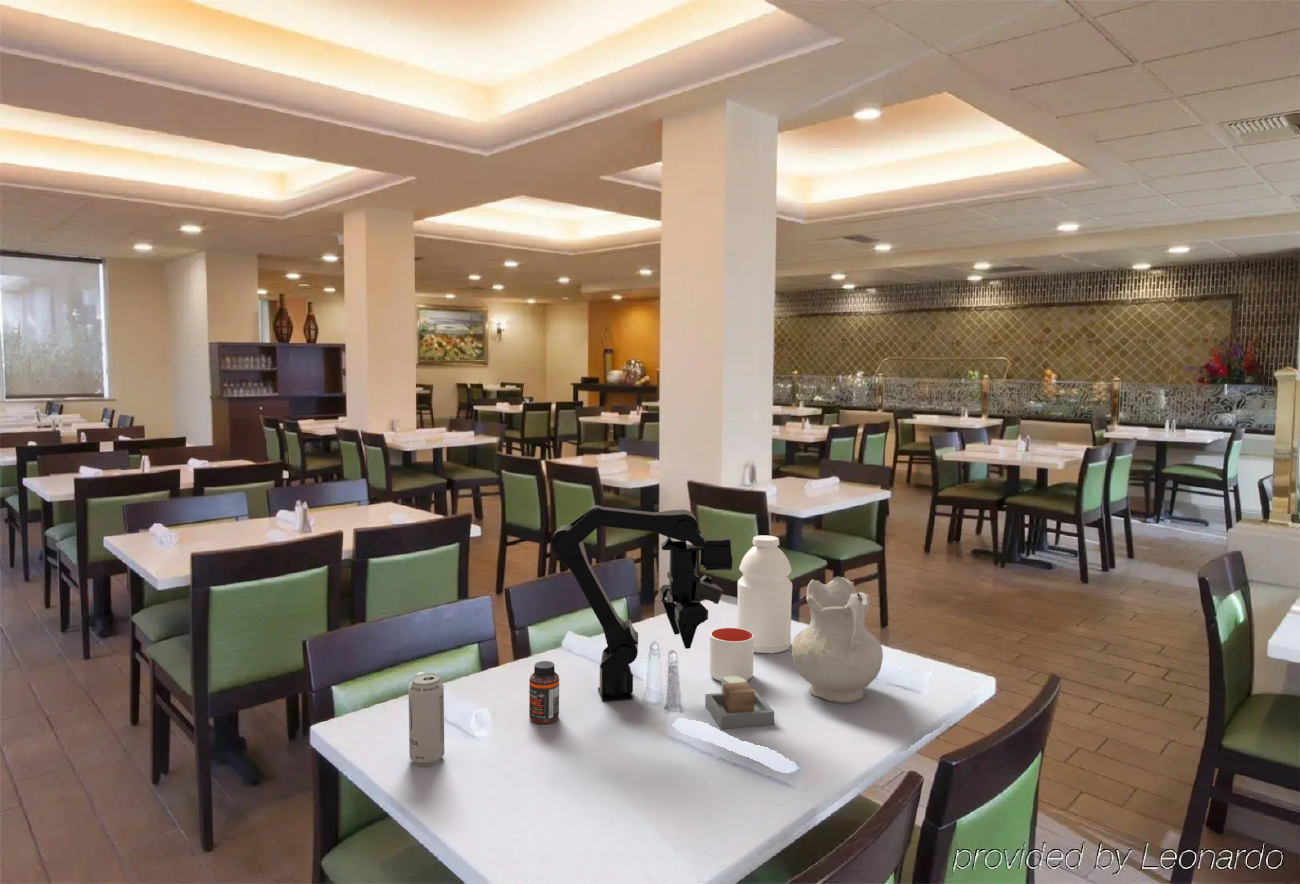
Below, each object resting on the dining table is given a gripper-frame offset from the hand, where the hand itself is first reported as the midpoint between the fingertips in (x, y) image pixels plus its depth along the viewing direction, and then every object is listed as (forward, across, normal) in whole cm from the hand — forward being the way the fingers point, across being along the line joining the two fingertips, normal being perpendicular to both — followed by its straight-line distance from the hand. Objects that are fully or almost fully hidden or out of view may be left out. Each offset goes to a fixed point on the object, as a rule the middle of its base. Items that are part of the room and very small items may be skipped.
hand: (682, 641), depth 172 cm
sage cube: (+12, -3, -11) cm, 17 cm away
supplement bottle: (+12, -6, +30) cm, 33 cm away
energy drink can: (+12, -19, +52) cm, 57 cm away
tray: (+12, -12, -9) cm, 19 cm away
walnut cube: (+11, -12, -9) cm, 19 cm away
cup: (+12, +8, -14) cm, 20 cm away
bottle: (+12, +27, -29) cm, 41 cm away
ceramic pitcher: (+12, -6, -34) cm, 37 cm away
